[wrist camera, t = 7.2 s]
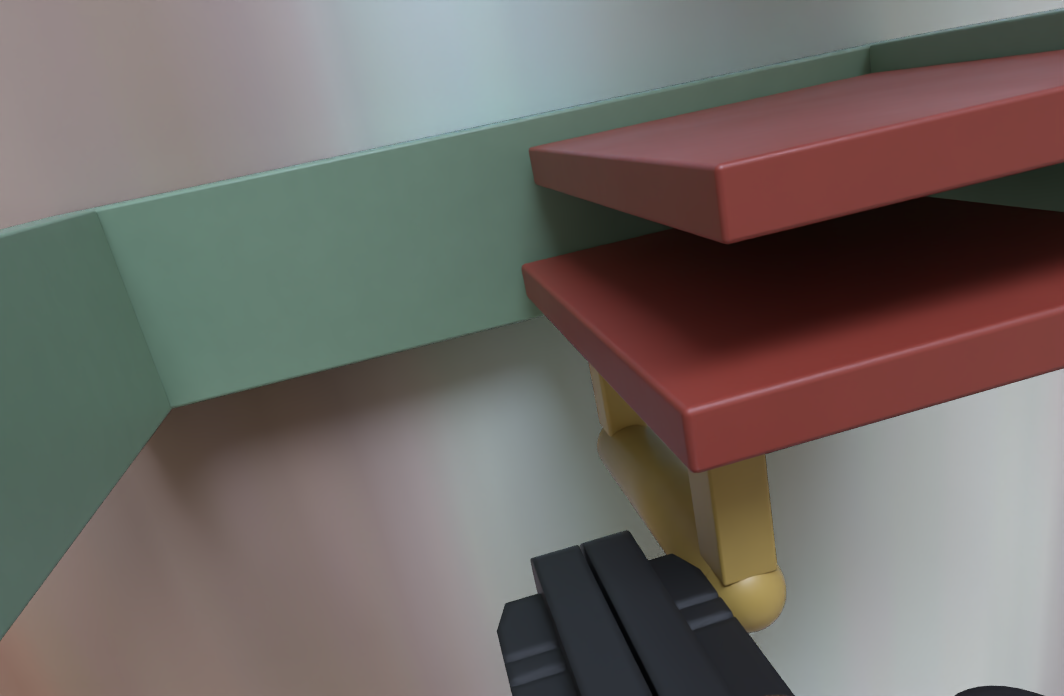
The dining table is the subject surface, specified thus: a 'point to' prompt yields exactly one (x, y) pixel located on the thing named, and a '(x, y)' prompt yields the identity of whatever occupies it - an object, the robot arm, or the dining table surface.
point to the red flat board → (792, 354)
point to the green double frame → (467, 239)
